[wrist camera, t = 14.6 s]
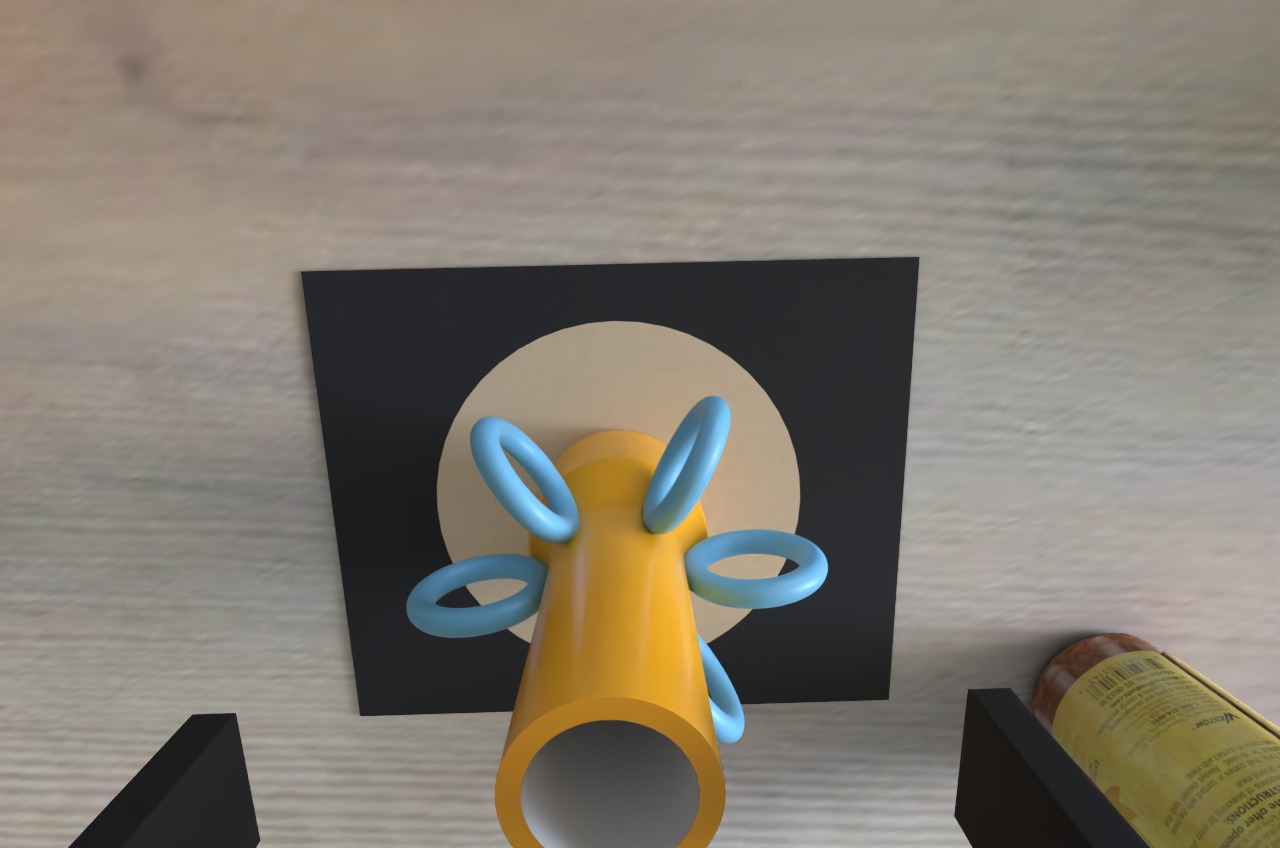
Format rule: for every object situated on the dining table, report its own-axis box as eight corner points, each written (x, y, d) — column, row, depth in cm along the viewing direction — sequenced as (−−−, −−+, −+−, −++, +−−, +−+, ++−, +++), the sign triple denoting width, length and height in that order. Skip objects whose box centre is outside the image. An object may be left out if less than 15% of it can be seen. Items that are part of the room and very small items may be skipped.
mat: (361, 714, 29) (360, 716, 29) (302, 271, 24) (300, 271, 24) (887, 698, 29) (888, 699, 29) (918, 257, 25) (919, 257, 25)
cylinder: (482, 640, 28) (322, 1059, 13) (440, 386, 25) (187, 558, 11) (784, 610, 28) (958, 999, 13) (770, 353, 25) (964, 482, 11)
